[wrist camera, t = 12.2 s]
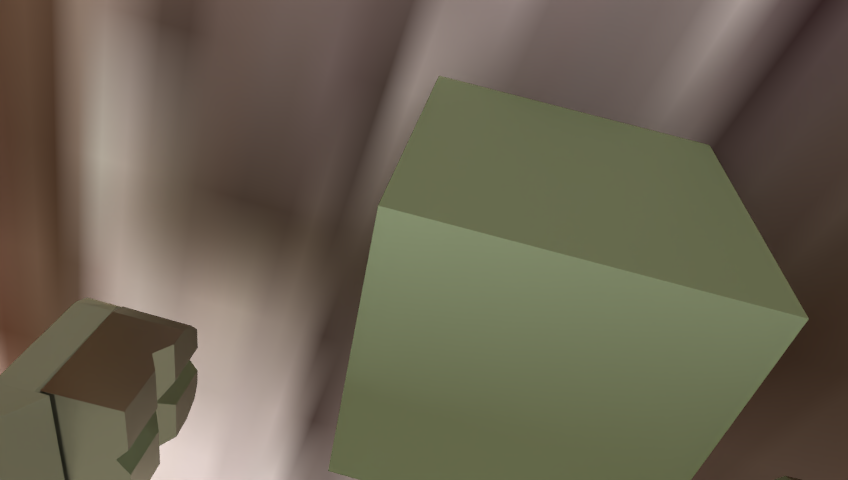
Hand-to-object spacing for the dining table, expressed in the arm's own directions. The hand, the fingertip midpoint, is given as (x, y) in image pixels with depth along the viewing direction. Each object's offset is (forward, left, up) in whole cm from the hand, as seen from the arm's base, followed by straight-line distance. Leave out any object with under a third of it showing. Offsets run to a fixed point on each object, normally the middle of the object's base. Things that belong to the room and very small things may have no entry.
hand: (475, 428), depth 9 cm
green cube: (-1, -1, -5) cm, 5 cm away
